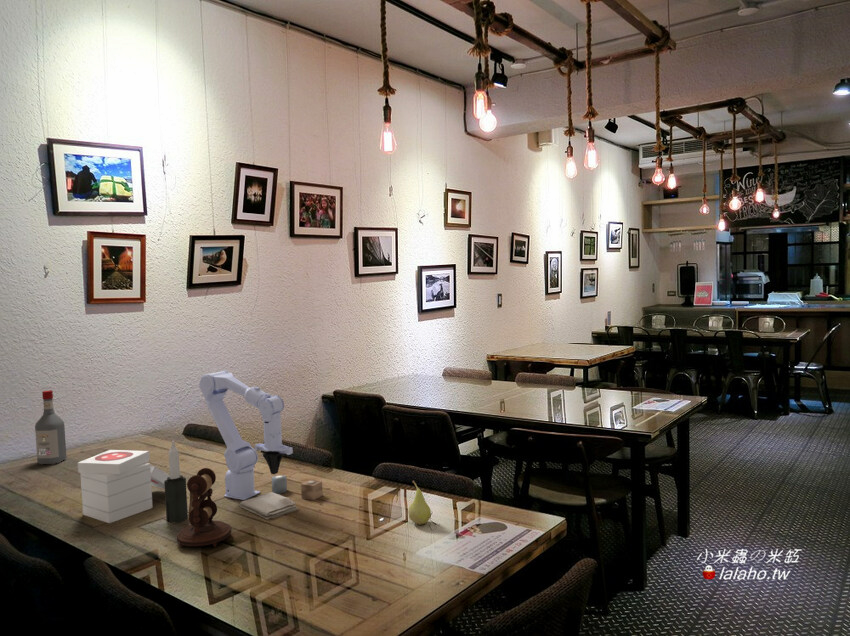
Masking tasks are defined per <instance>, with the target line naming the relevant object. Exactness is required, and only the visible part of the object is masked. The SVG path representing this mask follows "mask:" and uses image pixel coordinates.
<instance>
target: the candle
mask: <svg viewBox="0 0 850 636" xmlns="http://www.w3.org/2000/svg"><path fill="white" fill-rule="evenodd" d="M168 468H169V470H168V471H169V475H170V477H168V478H167V480H165V481H164V485H165V489H164V497H165V499H164V501H165V502H164V503H165V517H166V523H173V524H180V523H182V522H184V521H185V520H188V519H189V518H188V514H189V509H188V495H187V493H188V492H187V479H186V477H184V476H183V475H182V474H181V470H180V452H179V450H178V448H177V447H176V444H175V441H174V440H172V441H171V446H170V449H169V450H168Z"/></svg>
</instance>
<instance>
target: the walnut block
mask: <svg viewBox="0 0 850 636" xmlns="http://www.w3.org/2000/svg"><path fill="white" fill-rule="evenodd" d="M300 489H301V490H300V491H301V499H303V500H309V501H315V500H317V499H319V498H321V497H323V481H321V480H316V479H314V480H313V479H309V480H306V481H305V482H302V483H300Z"/></svg>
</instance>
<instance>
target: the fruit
mask: <svg viewBox="0 0 850 636" xmlns="http://www.w3.org/2000/svg"><path fill="white" fill-rule="evenodd" d="M412 483H413V484H414V486H415V487H416V491H415V494H414V499H413V501H412V502H411V504H410V505H409V506H408V509H407V514H408V518H409V519H410V521H412V523H415V524H416V525H425V524H426V523H428V522H429V520H430V519H431V516H432V510H431V507H430V506H429V505H428V503H427V501H426V500H425V497H424V494H423V492H422V490H421V489H420V488H419V487H418V486H417V483H416V482H415V480H412Z"/></svg>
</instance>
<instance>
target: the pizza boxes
mask: <svg viewBox="0 0 850 636" xmlns="http://www.w3.org/2000/svg"><path fill="white" fill-rule="evenodd" d="M150 460H151V459H150V450H130V449H129V450H126V449H108V450H106V451H104V452H100V453H98V454H96V455H94V456H92V457H88V458H86V459H83V460H80V461H79V462H77V473H78V474H79V473H80V474H79V475H80V489H81V504H82V505H81V506H82V515H83V516H85V517H89V518H92V519H95V520H98V521H101V522H105V523H107V524H112V523H114V522H116V521H119V520H123V519H126V518H128V517H130V516H134V515H136V514H139V513H142V512H145V511H147V510H150V509H152V508H154V507H153V491H152V489H153V488H152V486H153V487H156V488H160V489H163V490H165V485H164V481H165V480H167V478H168V477H170V474H168V473H167V472H165V471H164V470H161V469H160V468H158V467H157V466H153V465H151V463H150V462H149V461H150Z"/></svg>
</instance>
